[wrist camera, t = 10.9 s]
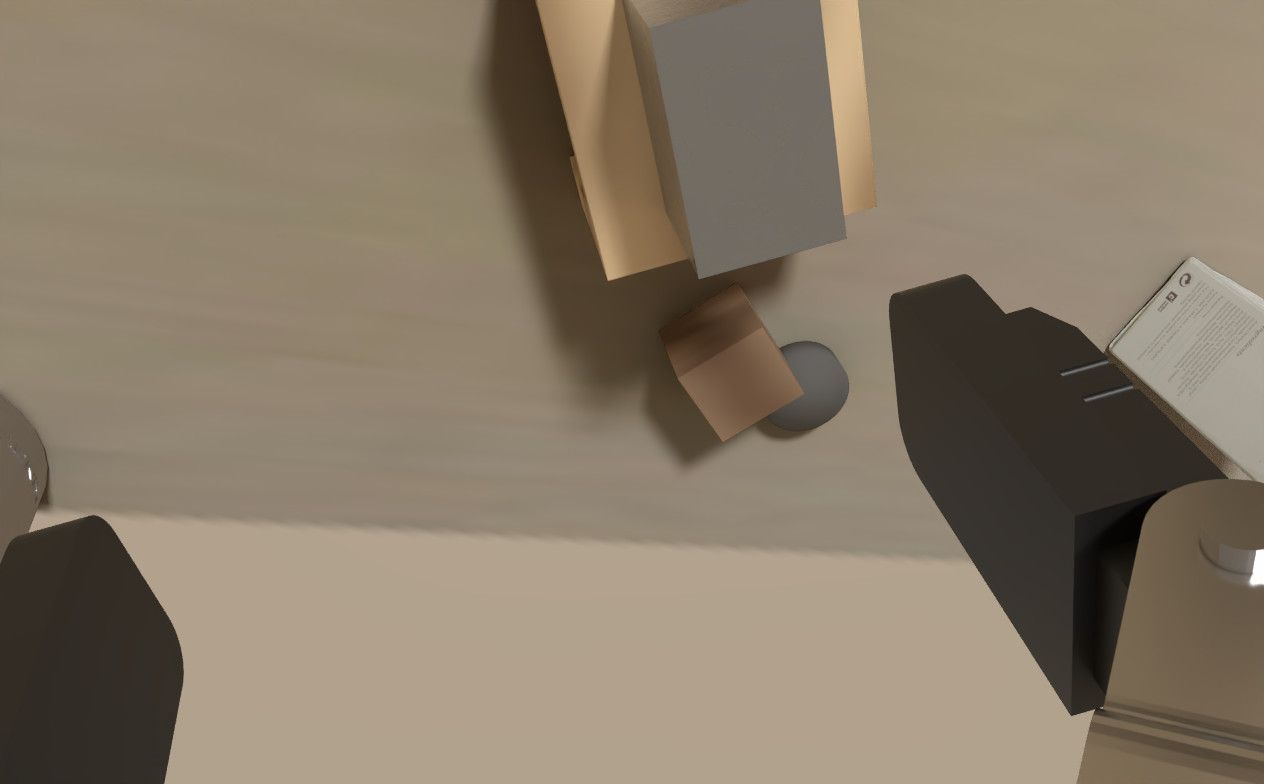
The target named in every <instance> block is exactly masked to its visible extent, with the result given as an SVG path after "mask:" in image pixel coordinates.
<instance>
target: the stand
mask: <svg viewBox="0 0 1264 784" xmlns="http://www.w3.org/2000/svg"><path fill="white" fill-rule="evenodd" d="M535 1H536V4H537V8H538V12H539V16H540V20H541V24H542V28H543V32H544V36H545V40H546V44H547V48H548V52H549V56H550V59H551V63H552V67H553V71H554V75H555V79H556V83H557V87H558V91H559V95H560V99H561V103H562V107H563V111H564V114H565V118H566V122H567V126H568V130H569V134H570V138H571V142H572V146H573V150H574V154H575V156H572V157H569V158H570V162H571V166H572V169H573V173H574V177H575V181H576V185H577V189H578V193H579V197H580V200H581V204H582V207H583V210H584V212H585V215H586V218H587V221H588V224H589V227H590V230H591V232H592V235H593V238H594V241H595V244H596V247H597V249H598V252H599V255H600V258H601V261H602V264H603V268H604V271H605V274H606V276H607V279H608V281H609V280H613V279H617V278H620V277H624V276H627V275H631V274H635V273H638V272H642V271H646V270H649V269H653V268H656V267H660V266H664V265H667V264H671V263H674V262H678V261H682V260H685V259H689V258H688V256H687V254H686V252H685V250H684V248H683V246H682V244H681V242H680V240H679V238H678V236H677V234H676V232H675V230H674V228H673V226H672V224H671V222H670V220H669V218H668V216H667V214H666V210H665V205H664V200H663V195H662V191H661V186H660V181H659V176H658V171H657V167H656V162H655V157H654V152H653V147H652V143H651V138H650V133H649V128H648V123H647V119H646V114H645V109H644V104H643V99H642V95H641V90H640V85H639V80H638V75H637V71H636V66H635V61H634V56H633V51H632V47H631V42H630V37H629V32H628V27H627V23H626V18H625V13H624V8H623V3H622V0H535ZM820 1H821V10H822V20H823V29H824V38H825V47H826V56H827V65H828V74H829V83H830V92H831V102H832V111H833V120H834V129H835V138H836V147H837V156H838V165H839V174H840V184H841V193H842V202H843V211H844V215H848V214H852V213H855V212H859V211H862V210H866V209H870V208H873V207H877V202H876V191H875V181H874V170H873V159H872V149H871V138H870V128H869V117H868V106H867V96H866V85H865V75H864V64H863V53H862V43H861V32H860V22H859V11H858V0H820Z"/></svg>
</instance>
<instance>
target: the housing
mask: <svg viewBox="0 0 1264 784" xmlns="http://www.w3.org/2000/svg"><path fill="white" fill-rule="evenodd" d="M622 3H623V8H624V13H625V18H626V23H627V27H628V32H629V37H630V42H631V47H632V51H633V56H634V61H635V66H636V71H637V75H638V80H639V85H640V90H641V95H642V99H643V104H644V109H645V114H646V119H647V123H648V128H649V133H650V138H651V143H652V147H653V152H654V157H655V162H656V167H657V171H658V176H659V181H660V186H661V191H662V195H663V200H664V205H665V210H666V214H667V216H668V218H669V220H670V222H671V224H672V226H673V228H674V230H675V232H676V234H677V236H678V238H679V240H680V242H681V244H682V246H683V248H684V250H685V252H686V254H687V256H688V258H689V260H690V262H691V264H692V266H693V268H694V271H695V273H696V275H697V277H698V279H702V278H705V277H709V276H713V275H716V274H720V273H724V272H727V271H731V270H735V269H738V268H742V267H746V266H749V265H753V264H756V263H760V262H764V261H767V260H771V259H775V258H778V257H782V256H786V255H789V254H793V253H796V252H800V251H804V250H807V249H811V248H815V247H818V246H822V245H826V244H829V243H833V242H837V241H840V240H844V239H847V238H846V229H845V220H844V211H843V202H842V193H841V184H840V174H839V165H838V156H837V147H836V138H835V129H834V120H833V111H832V102H831V92H830V83H829V74H828V65H827V56H826V47H825V38H824V29H823V20H822V10H821V1H820V0H622Z"/></svg>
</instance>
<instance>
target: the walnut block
mask: <svg viewBox="0 0 1264 784" xmlns="http://www.w3.org/2000/svg"><path fill="white" fill-rule="evenodd" d="M659 333H660V336H661V338H662V341H663V343H664V346H665V348H666V351H667V353H668V356H669V358H670V361H671V363H672V366H673V368H674V371H675V373H676V376H677V378H678V380H679V381H680V383H681V384H682V385H683V387H684V388H685V390H686V391H687V392H688V394H689V395H690V397H691V398H692V399H693V401H694V402H695V404H696V405H697V406H698V408H699V409H700V411H701V412H702V413H703V415H704V416H705V418H706V419H707V420H708V422H709V423H710V425H711V426H712V427H713V429H714V430H715V432H716V433H717V434H718V436H719V437H720V439H721V440H722V441H723V442H724V441H726V440H727V439H729V438H731V437H732V436H734V435H736V434H737V433H739V432H741V431H742V430H744V429H746V428H747V427H749V426H751V425H753V424H754V423H756V422H758V421H759V420H761V419H763V418H764V417H766V416H768V415H769V414H771V413H773V412H775V411H776V410H778V409H780V408H781V407H783V406H785V405H786V404H788V403H790V402H791V401H793V400H795V399H796V398H798V397H800V396H802V395H803V394H804V392H803V390H802V388H801V387H800V385H799V383H798V381H797V379H796V378H795V376H794V374H793V372H792V370H791V369H790V367H789V365H788V363H787V362H786V360H785V358H784V356H783V354H782V353H781V351H780V349H779V347H778V346H777V344H776V342H775V341H774V339H773V338H772V336H771V334H770V333H769V331H768V330H767V328H766V327H765V325H764V323H763V322H762V320H761V319H760V317H759V315H758V314H757V312H756V311H755V309H754V308H753V306H752V304H751V303H750V301H749V300H748V298H747V296H746V295H745V293H744V292H743V290H742V289H741V287H740V285H739V284H738V282H737V283H736V284H734V285H732V286H731V287H729V288H727V289H726V290H724V291H723V292H721V293H719V294H718V295H716V296H714V297H713V298H711V299H710V300H708V301H706V302H705V303H703V304H701V305H700V306H698V307H697V308H695V309H693V310H692V311H690V312H688V313H687V314H685V315H684V316H682V317H680V318H679V319H677V320H675V321H674V322H672V323H670V324H669V325H667V326H666V327H664V328H662V329H661V330H659Z"/></svg>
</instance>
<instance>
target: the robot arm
mask: <svg viewBox="0 0 1264 784" xmlns="http://www.w3.org/2000/svg"><path fill="white" fill-rule="evenodd" d="M889 318H890V329H891V340H892V351H893V361H894V372H895V383H896V394H897V405H898V415H899V422H900V428H901V432H902V436H903V440H904V443H905V446H906V449H907V452H908V455H909V458H910V460H911V462H912V465H913V467H914V469H915V471H916V473H917V475H918V476H919V478H920V480H921V481H922V483H923V484H924V486H925V488H926V489H927V491H928V492H929V494H930V495H931V497H932V499H933V500H934V502H935V503H936V505H937V506H938V508H939V509H940V511H941V513H942V514H943V516H944V517H945V519H946V520H947V522H948V524H949V525H950V527H951V528H952V530H953V531H954V533H955V535H956V536H957V538H958V539H959V541H960V542H961V544H962V546H963V547H964V549H965V550H966V552H967V553H968V555H969V557H970V558H971V560H972V561H973V563H974V564H975V566H976V568H977V569H978V571H979V572H980V574H981V575H982V577H983V578H984V580H985V582H986V583H987V585H988V586H989V588H990V589H991V591H992V593H993V594H994V596H995V597H996V599H997V600H998V602H999V604H1000V605H1001V607H1002V608H1003V610H1004V612H1005V613H1006V615H1007V616H1008V618H1009V619H1010V621H1011V622H1012V624H1013V626H1014V627H1015V629H1016V630H1017V632H1018V633H1019V635H1020V637H1021V638H1022V640H1023V641H1024V643H1025V644H1026V646H1027V647H1028V649H1029V651H1030V652H1031V654H1032V655H1033V657H1034V659H1035V660H1036V662H1037V663H1038V665H1039V666H1040V668H1041V669H1042V671H1043V673H1044V674H1045V676H1046V677H1047V679H1048V680H1049V682H1050V684H1051V685H1052V687H1053V688H1054V690H1055V691H1056V693H1057V695H1058V696H1059V698H1060V699H1061V701H1062V703H1063V704H1064V706H1065V707H1066V709H1067V710H1068V712H1069V714H1070V715H1071V716H1073V715H1077V714H1080V713H1083V712H1087V711H1090V710H1093V709H1095V711H1094V714H1093V717H1092V720H1091V724H1090V727H1089V731H1088V735H1087V740H1086V744H1085V748H1084V753H1083V757H1082V762H1081V767H1080V771H1079V775H1078V780H1077V784H1264V483H1262V482H1256V481H1251V480H1240V479H1228V478H1227V477H1226V476H1225V475H1224V474H1223V473H1222V472H1221V471H1220V470H1219V469H1218V468H1217V467H1216V466H1215V465H1214V464H1213V463H1212V462H1211V461H1210V460H1209V459H1208V458H1207V457H1206V456H1205V455H1204V454H1203V453H1202V452H1201V451H1200V450H1199V449H1198V448H1197V447H1196V446H1195V445H1194V444H1193V443H1192V442H1191V441H1190V440H1189V439H1188V438H1187V437H1186V436H1185V435H1184V434H1183V433H1182V432H1181V431H1180V430H1179V429H1178V428H1177V427H1176V426H1175V425H1174V424H1173V423H1172V422H1171V421H1170V420H1169V419H1168V418H1167V417H1166V416H1165V415H1164V414H1163V413H1162V412H1161V411H1160V410H1159V409H1158V408H1157V407H1156V406H1155V405H1154V404H1153V403H1152V402H1151V401H1150V400H1149V399H1148V398H1147V397H1146V396H1145V395H1144V394H1143V393H1142V392H1141V391H1140V390H1139V389H1137V390H1134V388H1133V384H1132V382H1131V381H1130V380H1129V379H1128V378H1127V377H1126V376H1125V375H1124V374H1123V373H1122V372H1121V371H1120V370H1119V369H1118V368H1117V367H1116V366H1115V365H1114V364H1111V365H1110V364H1109V363H1108V359H1107V357H1106V356H1105V355H1104V354H1103V353H1102V352H1101V351H1100V350H1099V349H1098V348H1097V347H1096V346H1095V345H1094V344H1093V343H1092V342H1091V341H1090V340H1089V339H1088V338H1087V337H1086V336H1085V335H1084V334H1083V333H1082V332H1081V331H1080V330H1079V329H1078V328H1077V327H1075V326H1073V325H1070V324H1068V323H1066V322H1064V321H1061V320H1059V319H1057V318H1055V317H1052V316H1050V315H1048V314H1046V313H1043V312H1041V311H1039V310H1036V309H1034V308H1032V307H1029V308H1026V309H1022V310H1019V311H1015V312H1011V313H1008V314H1005V313H1004V312H1003V311H1002V310H1001V309H1000V307H999V306H998V305H997V304H996V303H995V302H994V301H993V300H992V299H991V298H990V297H989V295H988V294H987V293H986V292H985V291H984V290H983V289H982V288H981V287H980V286H979V285H978V283H977V282H976V281H975V280H974V279H973V278H972V277H970V276H969V275H967V274H962V275H959V276H955V277H951V278H948V279H944V280H941V281H937V282H934V283H930V284H926V285H923V286H919V287H916V288H912V289H908V290H905V291H901V292H898V293H895V294H893V295H892V296H891V299H890V304H889ZM47 470H48V466H47V461H46V456H45V451H44V448H43V446H42V444H41V442H40V439H39V437H38V435H37V433H36V431H35V429H34V428H33V427H32V426H31V424H30V423H29V422H28V421H27V419H26V418H25V417H24V416H23V414H22V413H21V412H20V411H19V410H18V409H17V408H15V407H14V406H13V405H12V404H11V403H9V402H8V401H7V400H6V399H5V398H4V397H2V396H1V395H0V784H164V782H165V776H166V771H167V765H168V760H169V755H170V749H171V744H172V739H173V734H174V728H175V723H176V718H177V713H178V707H179V701H180V696H181V691H182V686H183V675H184V671H183V670H184V669H183V658H182V652H181V647H180V644H179V640H178V637H177V634H176V631H175V629H174V627H173V625H172V623H171V621H170V619H169V617H168V616H167V614H166V612H165V611H164V609H163V608H162V606H161V605H160V603H159V601H158V600H157V598H156V597H155V595H154V594H153V592H152V590H151V589H150V587H149V585H148V584H147V582H146V581H145V579H144V578H143V576H142V575H141V573H140V571H139V570H138V568H137V566H136V565H135V563H134V562H133V560H132V558H131V557H130V555H129V554H128V553H127V551H126V549H125V547H124V546H123V544H122V543H121V541H120V540H119V538H118V536H117V535H116V533H115V532H114V530H113V529H112V527H111V526H110V525H109V524H108V523H107V522H106V521H105V520H104V519H102V518H101V517H99V516H95V515H92V516H88V517H84V518H80V519H77V520H73V521H70V522H66V523H63V524H59V525H55V526H52V527H48V528H45V529H41V530H37V531H34V532H30V533H28V531H29V529H30V526H31V524H32V521H33V518H34V516H35V513H36V511H37V508H38V505H39V503H40V500H41V498H42V495H43V492H44V490H45V487H46V482H47ZM1100 707H1103V709H1101V708H1100Z"/></svg>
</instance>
